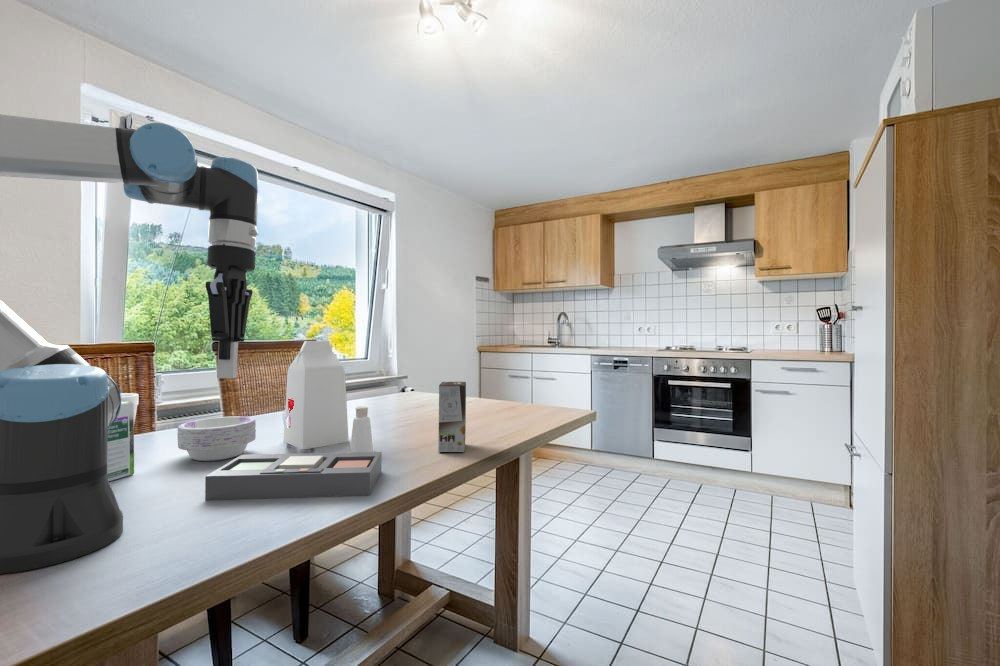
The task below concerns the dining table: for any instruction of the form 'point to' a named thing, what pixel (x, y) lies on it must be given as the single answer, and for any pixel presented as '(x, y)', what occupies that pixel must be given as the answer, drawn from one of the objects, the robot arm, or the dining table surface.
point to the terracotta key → (353, 464)
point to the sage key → (252, 466)
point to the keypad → (293, 478)
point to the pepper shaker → (361, 432)
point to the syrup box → (121, 443)
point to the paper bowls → (216, 437)
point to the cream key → (301, 462)
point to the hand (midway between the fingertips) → (226, 377)
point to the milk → (316, 398)
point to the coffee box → (452, 416)
